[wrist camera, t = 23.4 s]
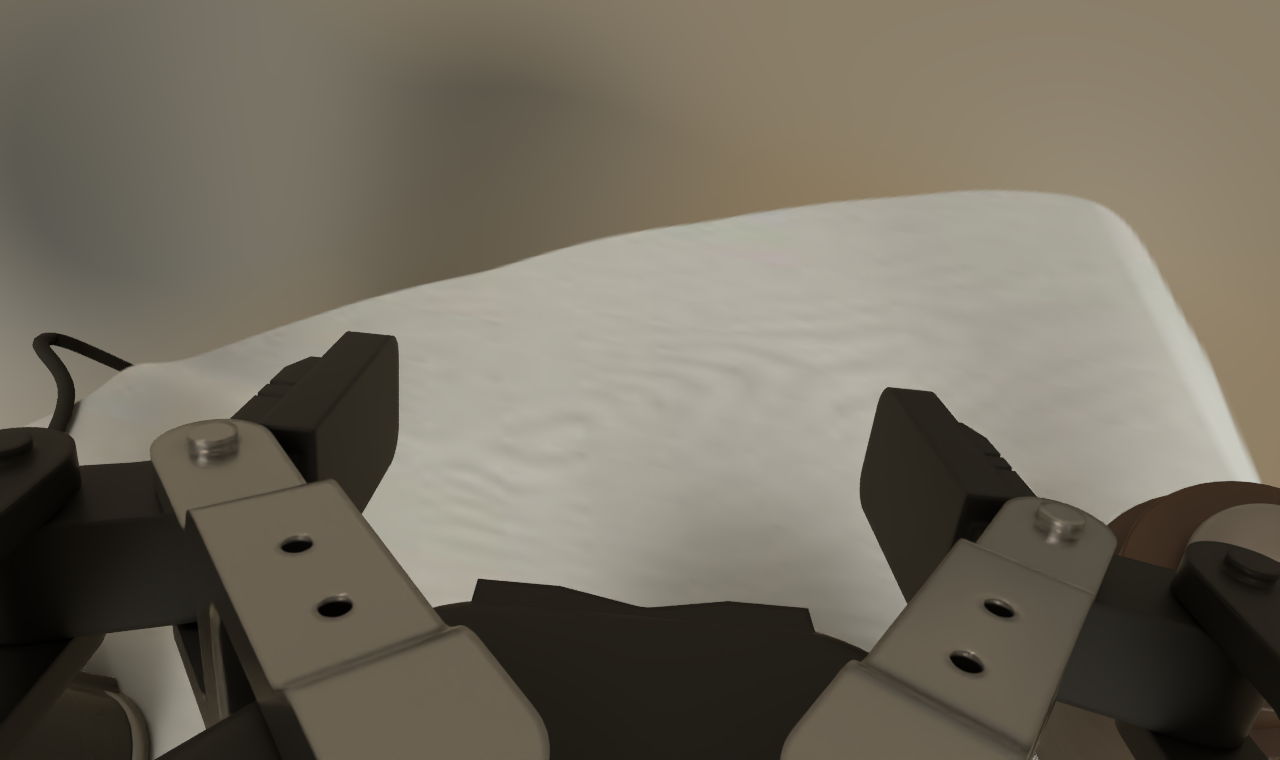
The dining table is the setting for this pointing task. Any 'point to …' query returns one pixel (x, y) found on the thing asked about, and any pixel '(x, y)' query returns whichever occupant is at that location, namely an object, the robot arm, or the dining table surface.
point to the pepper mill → (1158, 534)
